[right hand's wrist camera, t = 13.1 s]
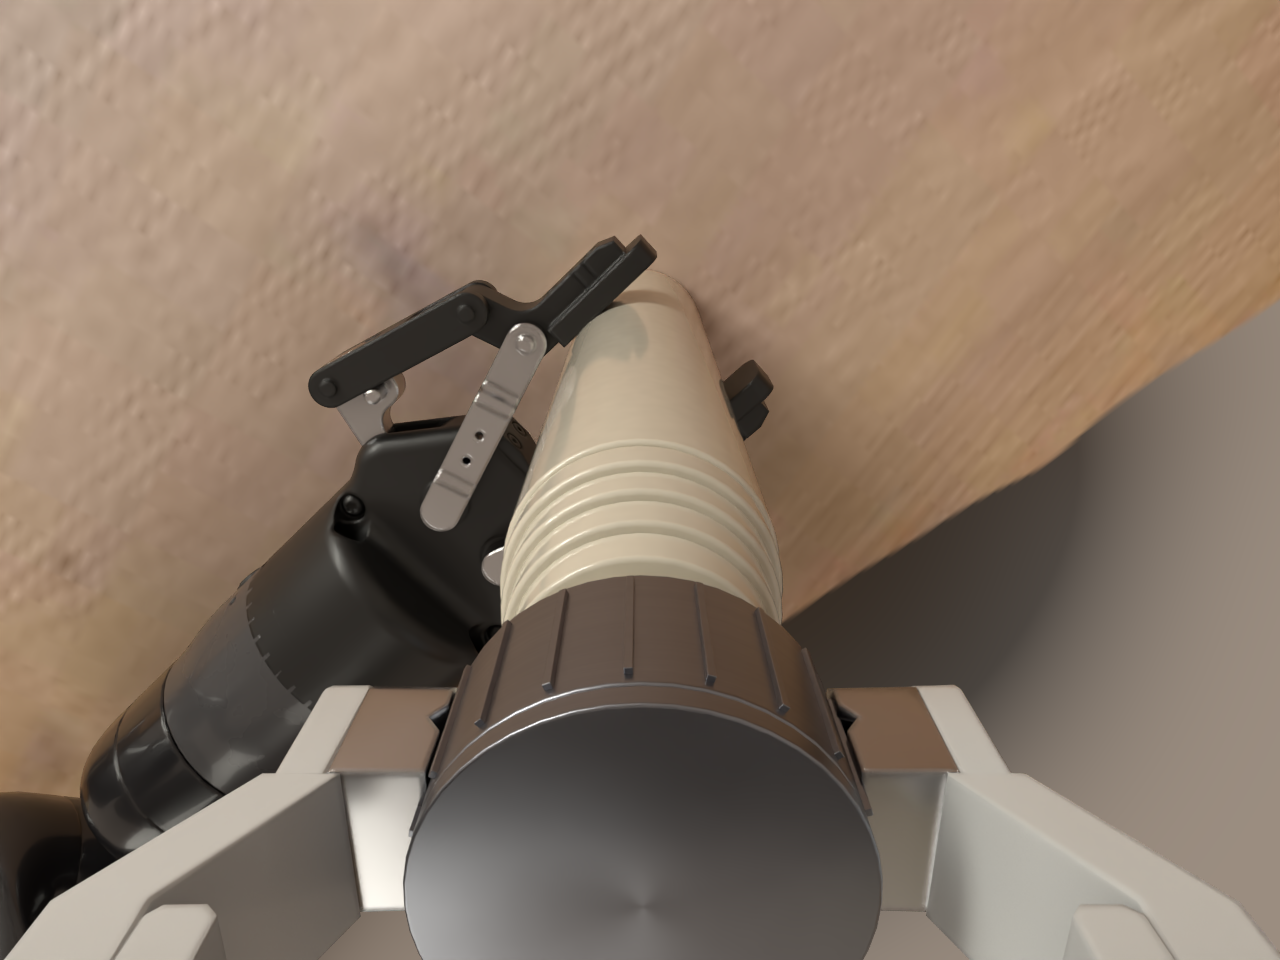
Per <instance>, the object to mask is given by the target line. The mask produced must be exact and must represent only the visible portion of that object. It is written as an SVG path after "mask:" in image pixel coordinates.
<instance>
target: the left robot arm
mask: <svg viewBox="0 0 1280 960" xmlns="http://www.w3.org/2000/svg"><path fill="white" fill-rule="evenodd" d="M656 258H657V252H656V251H655V250H654V248H653V247H652V246H651V245H650V244H649V243H648V242H647V241H646V240H645V238H644V237H643V236H642V235H641V234H640V235H639V236H638V237H636V238H635V239H634V240H633V241H632V242H631V243H630V244H629V245H628V246H627V247H625V246H624V245H623V244H622V243H621V242H620V241H619V240H618V239H617V238H616V237H615V236H613V237H610V238H608V239H605V240H603V241H600V242H598V243H597V244H596V245H595V246H594V247H593V248H592V249H591V250H590V251H589V252H588V253H587V254H586V255H585V256H584V257H583V258H582V259H581V260H580V261H579V262H578V263H577V264H576V265H575V266H574V267H573V268H571V269H570V270H569V271H568V272H567V273H566V274H565V275H564V276H563V277H562V278H561V279H560V280H559V281H558V282H557V283H556V284H555V285H554V286H553V287H552V288H551V289H550V290H549V291H548V292H547V293H546V294H545V295H544V296H543V297H542V298H540V299H539V300H537V301H534V302H531V303H521V302H517V301H515V300H513V299H511V298H509V297H507V296H505V295H503V294H501V293H499V292H497V290H496V288H495V287H494V286H493V285H491V284H490V283H488V282H486V281H482V280H476V281H473V282H470V283H469V284H467V285H465V286H463V287H461V288H459V289H458V290H456V291H454V292H452V293H450V294H449V295H447V296H445V297H443V298H441V299H439V300H438V301H436V302H434V303H432V304H430V305H428V306H427V307H425V308H423V309H421V310H419V311H418V312H416V313H414V314H412V315H410V316H408V317H407V318H405V319H403V320H401V321H399V322H397V323H396V324H394V325H392V326H390V327H388V328H386V329H385V330H383V331H381V332H379V333H377V334H376V335H374V336H372V337H370V338H368V339H366V340H365V341H363V342H361V343H359V344H357V345H355V346H354V347H352V348H350V349H348V350H346V351H344V352H343V353H341V354H340V355H338V356H337V357H336V358H334V359H333V360H331V361H330V362H328V363H327V364H325V365H324V366H323V367H321V368H320V369H319V370H317V371H316V372H314V373H313V374H312V376H311V377H310V379H309V384H308V387H309V392H310V394H311V396H312V398H313V399H314V400H315V401H316V402H317V403H318V404H320V405H322V406H324V407H328V408H335V407H336V408H337V409H338V411H339V412H340V414H341V415H342V417H343V418H344V420H345V421H346V423H347V424H348V426H349V427H350V429H351V430H352V432H353V433H354V435H355V436H356V438H357V439H358V441H359V442H360V444H361V445H362V448H361V449H360V451H359V453H358V455H357V458H356V463H355V468H354V471H353V474H352V477H351V479H350V480H349V481H348V482H347V483H346V484H345V485H344V486H343V487H342V488H341V489H340V490H339V491H338V492H337V493H336V494H335V495H334V496H333V497H332V498H331V499H330V500H329V501H328V502H327V503H326V504H325V505H324V506H323V507H322V508H321V509H320V510H319V511H318V512H317V513H316V514H315V515H314V516H313V517H312V518H311V519H310V520H309V521H308V522H307V523H306V524H304V525H303V526H302V527H301V528H300V529H299V530H298V531H297V532H296V533H295V534H294V535H293V536H292V537H291V538H290V539H289V540H288V541H287V542H286V543H285V544H284V545H283V546H282V547H281V548H280V549H279V550H278V551H277V552H276V553H275V554H274V555H273V556H272V557H271V558H270V559H269V560H268V561H267V562H266V563H265V564H264V565H263V566H262V567H260V568H259V569H257V570H255V571H254V572H253V573H251V574H250V575H249V576H247V577H246V578H245V579H244V580H243V581H242V582H241V583H240V586H239V587H238V589H237V591H236V592H235V593H234V594H233V595H232V596H231V597H230V598H229V599H228V600H227V601H226V602H225V603H224V604H223V605H222V606H221V607H220V608H219V609H218V610H217V611H216V612H215V613H214V614H213V615H212V616H211V617H210V619H209V620H208V621H207V622H206V624H205V625H204V626H203V627H202V629H201V630H200V631H199V633H198V634H197V635H196V637H195V638H194V640H193V641H192V642H191V644H190V645H189V647H188V648H187V649H186V650H185V652H184V653H183V654H182V655H181V656H180V657H179V658H178V659H177V660H176V661H175V662H174V663H173V664H172V665H171V666H170V667H169V668H168V669H167V670H166V671H165V672H164V673H163V674H162V675H161V676H160V677H159V678H158V679H157V680H156V681H155V682H154V683H153V684H152V685H151V686H149V687H148V688H147V689H146V690H145V691H144V692H143V693H142V694H141V695H140V696H139V697H138V698H137V699H136V700H135V701H134V702H133V703H132V704H131V705H130V706H129V707H128V708H127V709H126V710H125V711H124V712H123V713H122V714H121V715H120V716H119V717H118V718H117V719H116V720H115V721H114V722H113V723H112V724H111V725H110V726H109V728H108V729H107V730H106V731H105V732H104V734H103V735H102V736H101V737H100V739H99V740H98V741H97V743H96V744H95V746H94V747H93V749H92V751H91V753H90V755H89V757H88V758H87V761H86V763H85V766H84V769H83V773H82V777H81V784H80V798H75V797H66V796H57V795H49V794H40V793H29V792H0V960H4V959H5V958H6V957H7V955H8V954H9V953H10V952H11V950H12V949H13V948H14V947H15V945H16V944H17V943H18V941H19V940H20V939H21V938H22V936H23V935H24V934H25V933H26V931H27V930H28V929H29V927H30V926H31V925H32V924H33V922H34V921H35V920H36V918H37V917H38V916H39V915H40V913H41V912H42V911H43V910H44V908H45V907H46V906H47V904H48V903H49V902H50V901H51V900H52V899H54V898H56V897H57V896H59V895H61V894H62V893H64V892H66V891H67V890H69V889H71V888H72V887H74V886H76V885H77V884H79V883H81V882H82V881H84V880H86V879H87V878H89V877H91V876H92V875H94V874H96V873H97V872H99V871H101V870H102V869H104V868H106V867H107V866H109V865H111V864H112V863H114V862H116V861H117V860H119V859H121V858H122V857H124V856H126V855H127V854H129V853H131V852H132V851H134V850H136V849H137V848H139V847H141V846H142V845H144V844H146V843H147V842H149V841H151V840H152V839H154V838H156V837H157V836H159V835H161V834H162V833H164V832H166V831H167V830H169V829H171V828H172V827H174V826H176V825H177V824H179V823H181V822H182V821H184V820H186V819H187V818H189V817H191V816H192V815H194V814H196V813H197V812H199V811H201V810H202V809H204V808H206V807H207V806H209V805H211V804H212V803H214V802H216V801H217V800H219V799H221V798H222V797H224V796H226V795H227V794H229V793H231V792H232V791H234V790H236V789H237V788H239V787H241V786H242V785H244V784H246V783H247V782H249V781H251V780H252V779H254V778H256V777H257V776H259V775H261V774H262V773H276V771H277V770H278V768H279V766H280V765H281V763H282V761H283V760H284V758H285V756H286V754H287V753H288V751H289V749H290V748H291V746H292V744H293V742H294V741H295V739H296V737H297V736H298V734H299V732H300V730H301V729H302V727H303V725H304V724H305V722H306V720H307V719H308V717H309V715H310V713H311V712H312V710H313V708H314V707H315V705H316V703H317V701H318V700H319V698H320V696H321V695H322V693H323V691H324V690H325V689H327V688H329V687H331V686H343V685H370V686H372V687H374V686H417V687H458V685H459V682H460V680H461V677H462V674H463V671H464V668H465V667H466V665H469V666H471V665H472V663H473V662H474V660H475V659H476V657H477V656H478V654H479V653H480V651H481V650H482V649H483V647H484V646H485V645H486V644H487V642H488V641H489V640H490V639H491V638H492V637H493V636H494V635H495V634H496V633H497V632H498V631H499V629H501V627H502V625H501V598H500V574H501V566H502V561H503V553H504V545H505V539H506V535H507V532H508V528H509V525H510V522H511V519H512V516H513V513H514V510H515V507H516V504H517V501H518V498H519V495H520V492H521V489H522V486H523V483H524V480H525V477H526V475H527V472H528V469H529V466H530V463H531V460H532V457H533V454H534V451H535V448H536V444H535V442H534V440H533V439H532V437H531V436H530V434H529V433H528V432H527V431H526V430H525V429H524V428H523V427H522V426H521V425H520V424H519V423H518V422H517V421H516V420H515V419H514V418H513V417H512V416H513V414H514V412H515V410H516V408H517V406H518V404H519V402H520V400H521V398H522V396H523V394H524V393H525V391H526V389H527V387H528V385H529V383H530V381H531V379H532V377H533V375H534V373H535V371H536V369H537V367H538V365H539V363H540V362H541V360H542V358H543V357H544V356H545V355H546V354H547V353H548V352H549V351H550V350H551V349H552V348H553V347H554V346H555V345H556V344H557V343H558V342H559V343H560V344H561V345H562V346H563V347H565V346H566V345H567V344H568V343H569V342H570V341H571V340H573V339H574V338H575V337H576V336H577V335H578V334H579V333H580V332H581V330H582V329H583V328H584V327H585V326H586V325H587V324H588V323H589V322H590V321H592V320H593V319H594V318H596V317H597V316H598V315H599V314H600V313H601V312H602V311H603V310H604V309H605V308H606V307H607V306H608V305H609V304H610V303H611V302H612V301H614V300H615V299H616V298H617V297H618V296H619V295H620V294H621V293H622V292H623V291H624V290H625V289H626V288H627V287H628V286H629V285H630V284H631V283H632V282H633V281H635V280H636V279H637V278H638V277H639V276H640V275H641V274H642V273H643V272H644V271H645V270H646V269H647V268H648V267H649V266H650V265H651V264H652V263H653V262H654V261H655V259H656ZM471 335H473V336H475V337H477V338H479V339H481V340H483V341H485V342H487V343H489V344H491V345H493V346H495V347H497V348H499V349H500V350H499V352H498V354H497V356H496V358H495V360H494V362H493V364H492V366H491V368H490V370H489V372H488V374H487V376H486V378H485V380H484V382H483V384H482V386H481V388H480V389H479V391H478V393H477V395H476V397H475V399H474V401H473V403H472V405H471V407H470V409H469V411H468V413H467V415H461V416H453V417H445V418H437V419H429V420H420V421H412V422H404V423H396V424H393V422H392V420H391V417H390V409H391V406H392V405H393V404H394V403H395V402H396V401H397V400H398V399H399V397H400V396H401V395H402V394H403V392H404V390H405V386H406V383H405V378H404V376H403V374H402V372H404V371H406V370H408V369H410V368H412V367H413V366H415V365H417V364H419V363H421V362H423V361H425V360H426V359H428V358H430V357H432V356H434V355H436V354H438V353H440V352H441V351H443V350H445V349H447V348H449V347H451V346H453V345H454V344H456V343H458V342H460V341H462V340H464V339H466V338H468V337H469V336H471ZM723 384H724V386H725V389H726V392H727V395H728V398H729V401H730V404H731V407H732V409H733V412H734V415H735V418H736V421H737V424H738V427H739V429H740V432H741V435H742V438H743V441H745V439H746V438H748V437H749V436H751V435H752V434H753V433H754V432H755V431H756V430H758V429H759V428H760V427H761V425H762V424H763V422H764V420H765V418H766V416H767V414H768V413H769V410H768V408H767V406H766V404H765V402H764V400H765V399H766V398H767V397H768V396H769V394H770V393H771V392H772V390H773V385H772V383H771V381H770V379H769V377H768V376H767V374H766V373H765V372H764V371H763V370H762V369H761V368H760V367H759V366H758V364H757V363H756V362H755V361H754V360H750V361H748V362H746V363H745V364H744V365H742V366H741V367H740V368H739V369H738V370H736V371H735V372H734V373H733V374H732V375H731V376H730V377H728V378H727V379H726V380H725V381H724V382H723Z"/></svg>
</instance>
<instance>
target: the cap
mask: <svg viewBox="0 0 1280 960" xmlns="http://www.w3.org/2000/svg"><path fill="white" fill-rule="evenodd" d="M846 741H847V737H846V734H845V731H844V728H843V725H842V722H841V719H840V718H838V717H837V715H836V712H835V709H834V706H833V703H832V700H831V699H827V696H826V693H825V690H824V687H823V685H822V682H821V680H820V678H819V676H818V674H817V672H816V670H815V667H814V664H813V661H812V658H811V655H810V652H809V651H808V650H807V648H804V649H802V648H801V646H800V645H799V644H798V643H797V642H796V640H795V639H794V638H793V637H792V636H791V635H790V634H789V633H788V632H787V631H786V630H785V629H784V628H783V627H782V626H781V625H780V624H778V623H777V622H776V621H775V620H773V619H772V618H771V617H769V616H768V615H767V614H766V613H765V611H764V610H763V609H762V608H760V607H758V608H756V607H755V606H753V605H751V604H750V603H748V602H746V601H745V600H743V599H741V598H739V597H737V596H734V595H732V594H730V593H727V592H725V591H723V590H721V589H718V588H715V587H712V586H708V585H705V584H703V583H701V582H697V581H696V582H695V581H691V580H685V579H679V578H673V577H667V576H648V575H635V576H634V575H630V576H620V577H611V578H606V579H600V580H595V581H590V582H586V583H583V584H580V585H576V586H573V587H570V588H567V589H566V588H565V589H562V590H559V592H557V593H555V594H553V595H551V596H548V597H546V598H544V599H542V600H540V601H538V602H536V603H535V604H533V605H532V606H530V607H528V608H527V609H525V610H524V611H522V612H520V613H519V614H517V615H516V616H515V617H514V618H513V619H511V620H510V621H509V620H506V621H505V622H504V623H503V624H502V627H501V629H499V631H498V632H497V633H496V634H495V635H494V636H493V637H492V638H491V639H490V640H489V641H488V642H487V644H486V645H485V646H484V647H483V649H482V650H481V651H480V653H479V654H478V656H477V657H476V659H475V660H474V662H473V663H472V665H471V666H469V665H466V667H465V668H464V671H463V674H462V677H461V680H460V682H459V685H458V688H457V691H456V694H455V697H454V700H453V703H452V706H451V709H450V712H449V715H448V718H447V721H446V724H445V727H444V730H443V733H442V736H441V739H440V742H439V745H438V748H437V751H436V754H435V757H434V760H433V763H432V766H431V769H430V772H429V775H428V777H430V778H431V780H430V783H429V786H428V789H427V792H426V795H425V798H424V801H423V804H422V806H417V808H416V811H415V814H414V817H413V820H412V823H411V826H410V829H409V835H408V836H409V837H412V838H411V841H410V844H409V848H408V851H407V854H406V859H405V867H404V876H403V895H404V908H405V912H406V917H407V921H408V925H409V930H410V933H411V935H412V938H413V940H414V943H415V945H416V948H417V950H418V953H419V955H420V956H421V958H422V960H863V959H864V957H865V955H866V954H867V952H868V950H869V947H870V945H871V942H872V939H873V937H874V934H875V931H876V929H877V925H878V920H879V915H880V910H881V905H882V888H883V876H882V869H881V862H880V855H879V851H878V848H877V845H876V842H875V839H874V835H873V832H872V829H871V826H870V823H869V820H868V816H873V812H872V808H871V805H870V802H869V800H868V797H867V794H866V791H865V788H864V785H861V784H860V781H859V778H858V775H857V772H856V770H855V767H854V764H853V761H852V758H851V756H850V753H849V750H848V747H847V744H846Z"/></svg>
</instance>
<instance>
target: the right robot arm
mask: <svg viewBox="0 0 1280 960" xmlns="http://www.w3.org/2000/svg"><path fill="white" fill-rule="evenodd" d="M456 691H457V687H417V686H374V687H372V686H370V685H343V686H331V687H329V688H327V689H325V690H324V691H323V693H322V695H321V696H320V698H319V700H318V701H317V703H316V705H315V707H314V708H313V710H312V712H311V713H310V715H309V717H308V719H307V720H306V722H305V724H304V725H303V727H302V729H301V730H300V732H299V734H298V736H297V737H296V739H295V741H294V742H293V744H292V746H291V748H290V749H289V751H288V753H287V754H286V756H285V758H284V760H283V761H282V763H281V765H280V766H279V768H278V770H277V771H276V773H262V774H261V775H259V776H257V777H256V778H254V779H252V780H251V781H249V782H247V783H246V784H244V785H242V786H241V787H239V788H237V789H236V790H234V791H232V792H231V793H229V794H227V795H226V796H224V797H222V798H221V799H219V800H217V801H216V802H214V803H212V804H211V805H209V806H207V807H206V808H204V809H202V810H201V811H199V812H197V813H196V814H194V815H192V816H191V817H189V818H187V819H186V820H184V821H182V822H181V823H179V824H177V825H176V826H174V827H172V828H171V829H169V830H167V831H166V832H164V833H162V834H161V835H159V836H157V837H156V838H154V839H152V840H151V841H149V842H147V843H146V844H144V845H142V846H141V847H139V848H137V849H136V850H134V851H132V852H131V853H129V854H127V855H126V856H124V857H122V858H121V859H119V860H117V861H116V862H114V863H112V864H111V865H109V866H107V867H106V868H104V869H102V870H101V871H99V872H97V873H96V874H94V875H92V876H91V877H89V878H87V879H86V880H84V881H82V882H81V883H79V884H77V885H76V886H74V887H72V888H71V889H69V890H67V891H66V892H64V893H62V894H61V895H59V896H57V897H56V898H54V899H52V900H51V901H50V902H49V903H48V904H47V906H46V907H45V908H44V910H43V911H42V912H41V913H40V915H39V916H38V917H37V918H36V920H35V921H34V922H33V924H32V925H31V926H30V927H29V929H28V930H27V931H26V933H25V934H24V935H23V936H22V938H21V939H20V940H19V941H18V943H17V944H16V945H15V947H14V948H13V949H12V950H11V952H10V953H9V954H8V955H7V957H6V958H5V959H4V960H318V959H319V958H320V957H321V956H322V955H323V954H324V953H325V952H326V951H327V950H328V949H329V948H330V947H331V946H332V945H333V944H334V943H335V942H336V941H337V940H338V939H339V938H340V937H341V936H342V935H343V934H344V933H345V932H346V931H347V929H349V928H350V926H351V925H352V924H353V923H354V922H355V921H356V920H357V919H358V918H359V917H360V912H368V911H403V910H405V908H404V895H403V876H404V867H405V859H406V854H407V851H408V848H409V844H410V841H411V838H412V837H409V836H408V835H409V829H410V826H411V823H412V820H413V817H414V814H415V811H416V808H417V806H422V804H423V801H424V798H425V795H426V792H427V789H428V786H429V783H430V780H431V778H430V777H428V775H429V772H430V769H431V766H432V763H433V760H434V757H435V754H436V751H437V748H438V745H439V742H440V739H441V736H442V733H443V730H444V727H445V724H446V721H447V718H448V715H449V712H450V709H451V706H452V703H453V700H454V697H455V694H456ZM826 696H827V699H831V700H832V703H833V706H834V709H835V712H836V715H837V717H838V718H840V719H841V722H842V725H843V728H844V731H845V734H846V737H847V741H846V744H847V747H848V750H849V753H850V756H851V758H852V761H853V764H854V767H855V770H856V772H857V775H858V778H859V781H860V784H861V785H864V788H865V791H866V794H867V797H868V800H869V802H870V805H871V808H872V812H873V816H868V820H869V823H870V826H871V829H872V832H873V835H874V839H875V842H876V845H877V848H878V851H879V855H880V862H881V869H882V876H883V888H882V905H881V910H883V911H918V912H926V916H927V917H928V918H929V919H930V920H931V921H932V922H933V923H934V924H935V925H936V926H937V927H938V928H939V929H940V930H941V931H942V932H943V933H944V934H945V935H946V936H947V937H948V938H949V939H950V940H951V941H952V942H953V943H954V944H955V945H956V946H957V947H958V948H959V949H960V950H961V951H962V952H963V953H964V954H965V955H966V956H967V957H968V958H969V959H970V960H1280V952H1279V951H1278V949H1277V948H1276V947H1275V946H1274V944H1273V943H1272V942H1271V940H1270V939H1269V938H1268V937H1267V935H1266V934H1265V933H1264V932H1263V930H1262V929H1261V928H1260V927H1259V925H1258V924H1257V923H1256V922H1255V920H1254V919H1253V918H1252V916H1251V915H1250V914H1249V913H1248V911H1247V910H1246V909H1245V908H1244V906H1243V905H1242V904H1241V903H1240V902H1239V901H1238V900H1236V899H1234V898H1233V897H1231V896H1229V895H1228V894H1226V893H1224V892H1223V891H1221V890H1219V889H1218V888H1216V887H1214V886H1213V885H1211V884H1209V883H1208V882H1206V881H1204V880H1203V879H1201V878H1199V877H1197V876H1196V875H1194V874H1192V873H1191V872H1189V871H1187V870H1186V869H1184V868H1182V867H1181V866H1179V865H1177V864H1176V863H1174V862H1172V861H1171V860H1169V859H1167V858H1166V857H1164V856H1162V855H1161V854H1159V853H1157V852H1156V851H1154V850H1152V849H1151V848H1149V847H1147V846H1146V845H1144V844H1142V843H1141V842H1139V841H1137V840H1136V839H1134V838H1132V837H1131V836H1129V835H1127V834H1125V833H1124V832H1122V831H1120V830H1119V829H1117V828H1115V827H1114V826H1112V825H1110V824H1109V823H1107V822H1105V821H1104V820H1102V819H1100V818H1099V817H1097V816H1095V815H1094V814H1092V813H1090V812H1089V811H1087V810H1085V809H1084V808H1082V807H1080V806H1079V805H1077V804H1075V803H1074V802H1072V801H1070V800H1069V799H1067V798H1065V797H1064V796H1062V795H1060V794H1059V793H1057V792H1055V791H1053V790H1052V789H1050V788H1048V787H1047V786H1045V785H1043V784H1042V783H1040V782H1038V781H1037V780H1035V779H1033V778H1032V777H1030V776H1028V775H1027V774H1025V773H1011V771H1010V770H1009V768H1008V766H1007V765H1006V763H1005V761H1004V760H1003V758H1002V756H1001V755H1000V753H999V751H998V750H997V748H996V746H995V745H994V743H993V742H992V740H991V738H990V736H989V735H988V733H987V731H986V730H985V728H984V727H983V725H982V723H981V722H980V720H979V718H978V717H977V715H976V713H975V712H974V710H973V708H972V707H971V705H970V703H969V702H968V700H967V698H966V697H965V695H964V693H963V692H962V690H961V689H960V688H958V687H957V686H955V685H935V686H912V687H884V688H832V689H831V688H830V689H827V692H826Z"/></svg>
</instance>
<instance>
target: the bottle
mask: <svg viewBox="0 0 1280 960" xmlns="http://www.w3.org/2000/svg"><path fill="white" fill-rule="evenodd" d="M630 575H634V576H635V575H648V576H667V577H673V578H679V579H685V580H691V581H695V582H696V581H697V582H701V583H703V584H705V585H708V586H712V587H715V588H718V589H721V590H723V591H725V592H727V593H730V594H732V595H734V596H737V597H739V598H741V599H743V600H745V601H746V602H748V603H750V604H751V605H753V606H755V607H756V608H758V607H760V608H762V609H763V610H764V611H765V613H766V614H767V615H768V616H769V617H771V618H772V619H773V620H775V621H776V622H777V623H778V624H780V625H781V623H782V593H783V579H782V569H781V563H780V558H779V548H778V543H777V537H776V533H775V530H774V527H773V524H772V521H771V518H770V515H769V513H768V510H767V507H766V504H765V501H764V498H763V495H762V492H761V490H760V487H759V484H758V481H757V478H756V475H755V472H754V470H753V467H752V464H751V461H750V458H749V455H748V452H747V449H746V447H745V444H744V441H743V438H742V435H741V432H740V429H739V427H738V424H737V421H736V418H735V415H734V412H733V409H732V407H731V404H730V401H729V398H728V395H727V392H726V389H725V386H724V384H723V381H722V378H721V375H720V372H719V369H718V366H717V364H716V361H715V358H714V355H713V352H712V349H711V346H710V344H709V341H708V338H707V335H706V332H705V329H704V326H703V323H702V321H701V318H700V315H699V312H698V309H697V306H696V304H695V302H694V300H693V299H692V297H691V296H690V294H689V293H688V292H687V291H686V289H685V288H684V287H683V286H682V285H680V284H679V283H678V282H677V281H675V280H674V279H672V278H671V277H669V276H667V275H665V274H663V273H660V272H656V271H652V270H645V271H644V272H643V273H642V274H641V275H640V276H639V277H638V278H637V279H636V280H635V281H633V282H632V283H631V284H630V285H629V286H628V287H627V288H626V289H625V290H624V291H623V292H622V293H621V294H620V295H619V296H618V297H617V298H616V299H615V300H614V301H612V302H611V303H610V304H609V305H608V306H607V307H606V308H605V309H604V310H603V311H602V312H601V313H600V314H599V315H598V316H597V317H596V318H594V319H593V320H592V321H590V322H589V323H588V324H587V325H586V326H585V327H584V328H583V329H582V330H581V332H580V333H579V334H578V335H577V336H576V337H575V338H574V339H573V340H572V342H571V345H570V348H569V351H568V354H567V357H566V360H565V363H564V366H563V369H562V372H561V375H560V378H559V380H558V383H557V386H556V389H555V392H554V395H553V398H552V401H551V404H550V407H549V410H548V413H547V416H546V419H545V422H544V425H543V427H542V430H541V433H540V436H539V439H538V442H537V445H536V448H535V451H534V454H533V457H532V460H531V463H530V466H529V469H528V472H527V475H526V477H525V480H524V483H523V486H522V489H521V492H520V495H519V498H518V501H517V504H516V507H515V510H514V513H513V516H512V519H511V522H510V525H509V528H508V532H507V535H506V539H505V545H504V553H503V561H502V566H501V574H500V598H501V625H502V624H503V623H504V622H505V621H506V620H509V621H510V620H511V619H513V618H514V617H515V616H516V615H517V614H519V613H520V612H522V611H524V610H525V609H527V608H528V607H530V606H532V605H533V604H535V603H536V602H538V601H540V600H542V599H544V598H546V597H548V596H551V595H553V594H555V593H557V592H559V590H562V589H565V588H566V589H567V588H570V587H573V586H576V585H580V584H583V583H586V582H590V581H595V580H600V579H606V578H611V577H620V576H630Z"/></svg>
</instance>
